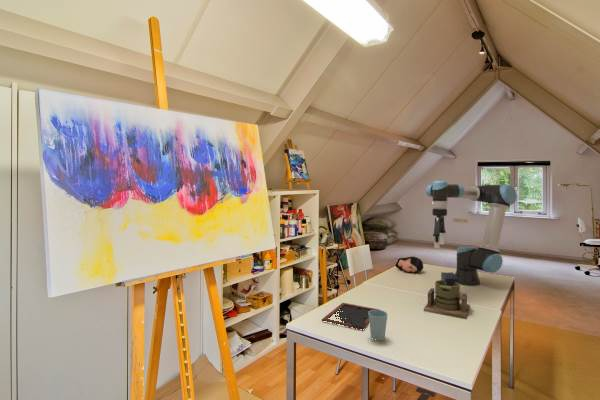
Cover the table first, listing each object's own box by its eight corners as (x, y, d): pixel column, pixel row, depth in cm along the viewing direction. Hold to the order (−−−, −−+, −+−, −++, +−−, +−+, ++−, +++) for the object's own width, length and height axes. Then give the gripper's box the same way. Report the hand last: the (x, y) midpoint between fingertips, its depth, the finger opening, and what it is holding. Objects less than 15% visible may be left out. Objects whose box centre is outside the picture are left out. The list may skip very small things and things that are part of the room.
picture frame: (363, 332, 142) (379, 312, 163) (363, 327, 142) (379, 309, 163) (321, 323, 152) (342, 305, 173) (321, 318, 152) (342, 302, 173)
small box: (440, 292, 193) (440, 271, 192) (453, 292, 191) (453, 272, 191) (446, 299, 180) (446, 278, 179) (459, 300, 178) (459, 278, 178)
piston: (457, 288, 158) (432, 284, 164) (457, 312, 158) (432, 307, 165) (461, 282, 167) (438, 278, 173) (461, 305, 167) (438, 301, 174)
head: (393, 264, 234) (423, 266, 226) (394, 252, 243) (423, 254, 236) (394, 276, 240) (423, 278, 232) (395, 264, 249) (423, 266, 242)
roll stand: (431, 300, 179) (431, 285, 178) (469, 307, 168) (470, 291, 168) (423, 311, 164) (423, 294, 163) (465, 319, 153) (466, 301, 153)
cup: (385, 343, 130) (385, 318, 130) (366, 339, 133) (366, 314, 133) (389, 336, 137) (389, 311, 136) (371, 332, 140) (370, 308, 140)
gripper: (436, 206, 195) (436, 242, 196) (427, 209, 174) (427, 249, 175) (450, 207, 191) (450, 243, 192) (443, 210, 170) (442, 250, 171)
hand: (439, 246), depth 184 cm, fingers open, 13 cm apart
